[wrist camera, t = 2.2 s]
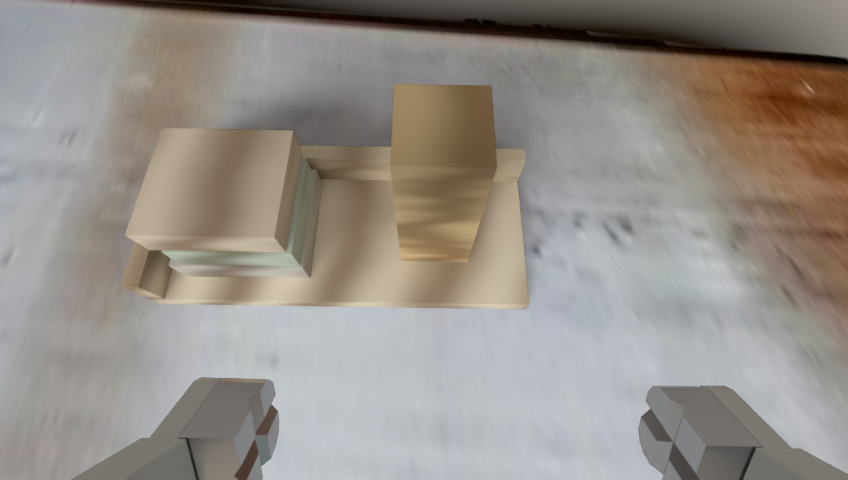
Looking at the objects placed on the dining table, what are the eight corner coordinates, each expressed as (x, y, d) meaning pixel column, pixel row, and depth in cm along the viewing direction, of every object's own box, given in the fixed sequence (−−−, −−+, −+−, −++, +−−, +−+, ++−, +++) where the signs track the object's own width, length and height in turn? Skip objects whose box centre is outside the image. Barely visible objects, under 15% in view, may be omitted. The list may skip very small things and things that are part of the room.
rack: (159, 303, 27) (120, 286, 23) (196, 174, 31) (167, 143, 27) (524, 309, 27) (540, 292, 23) (512, 179, 31) (524, 149, 27)
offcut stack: (186, 276, 26) (123, 238, 21) (210, 183, 29) (161, 128, 23) (310, 278, 26) (281, 241, 21) (322, 185, 29) (300, 130, 23)
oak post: (400, 261, 27) (389, 165, 17) (403, 202, 28) (394, 84, 18) (467, 261, 27) (497, 167, 17) (465, 203, 28) (491, 85, 18)
